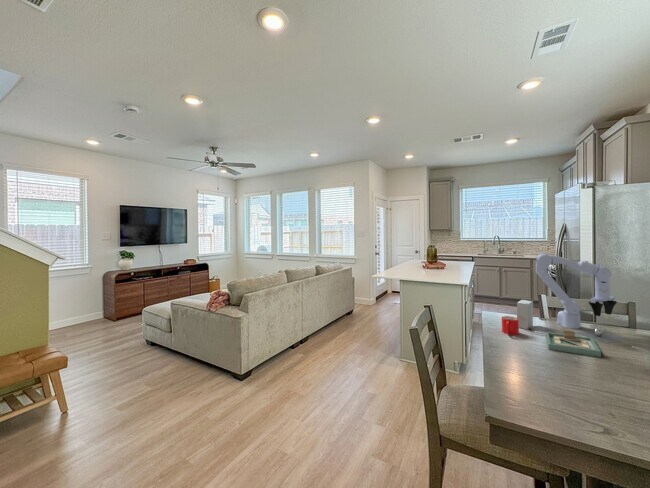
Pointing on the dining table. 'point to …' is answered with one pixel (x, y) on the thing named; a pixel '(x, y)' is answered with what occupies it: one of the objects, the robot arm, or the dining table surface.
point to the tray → (571, 349)
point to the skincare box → (525, 313)
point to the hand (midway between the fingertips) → (602, 314)
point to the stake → (598, 330)
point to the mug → (510, 325)
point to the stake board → (605, 336)
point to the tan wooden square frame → (570, 336)
